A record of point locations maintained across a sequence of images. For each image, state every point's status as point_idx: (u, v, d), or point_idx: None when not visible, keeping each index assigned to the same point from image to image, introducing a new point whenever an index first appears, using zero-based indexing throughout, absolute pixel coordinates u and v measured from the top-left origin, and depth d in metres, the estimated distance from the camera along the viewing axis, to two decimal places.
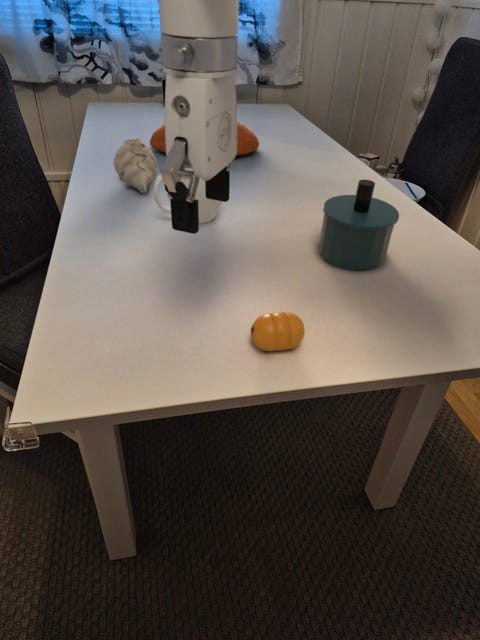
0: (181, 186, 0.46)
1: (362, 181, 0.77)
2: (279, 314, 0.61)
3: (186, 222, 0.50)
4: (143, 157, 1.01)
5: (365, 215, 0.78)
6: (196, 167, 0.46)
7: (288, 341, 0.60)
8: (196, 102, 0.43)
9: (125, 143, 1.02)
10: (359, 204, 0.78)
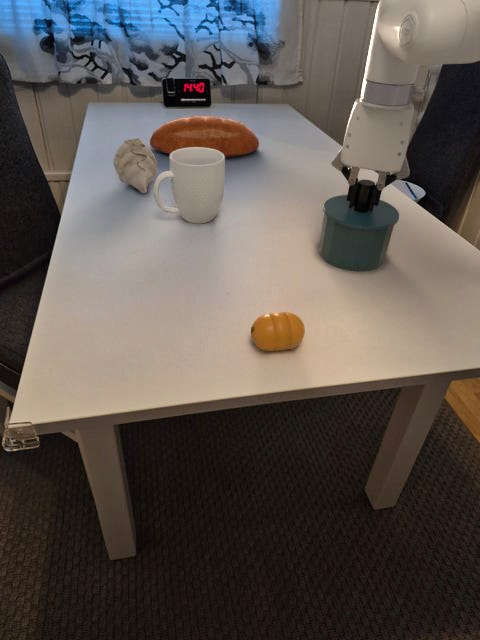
0: None
1: (362, 181, 0.77)
2: (279, 314, 0.61)
3: None
4: (143, 157, 1.01)
5: (365, 215, 0.78)
6: None
7: (288, 341, 0.60)
8: None
9: (125, 143, 1.02)
10: (359, 204, 0.78)
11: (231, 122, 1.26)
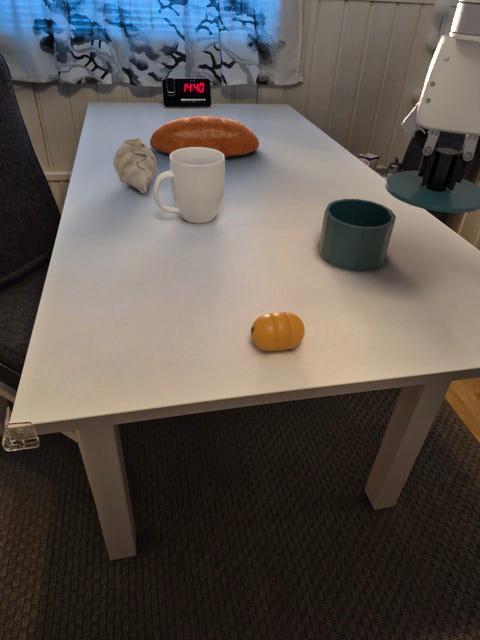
0: None
1: (441, 149, 0.58)
2: (279, 314, 0.61)
3: None
4: (143, 157, 1.01)
5: (444, 194, 0.59)
6: None
7: (288, 341, 0.60)
8: None
9: (125, 143, 1.02)
10: (436, 180, 0.59)
11: (231, 122, 1.26)
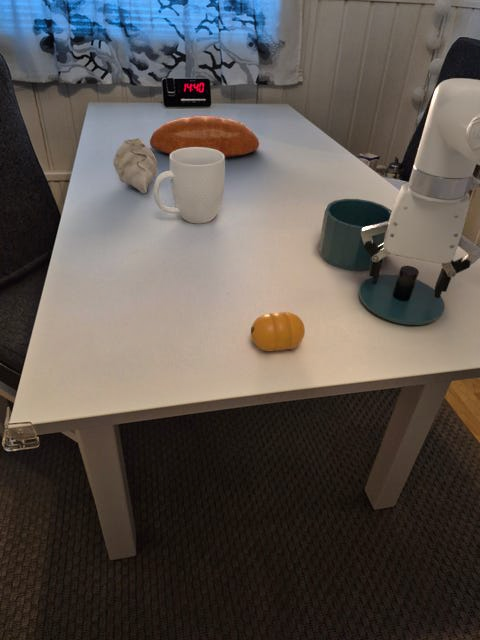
0: None
1: (404, 268, 0.70)
2: (279, 314, 0.61)
3: None
4: (143, 157, 1.01)
5: (407, 305, 0.71)
6: None
7: (288, 341, 0.60)
8: None
9: (125, 143, 1.02)
10: (401, 292, 0.71)
11: (231, 122, 1.26)
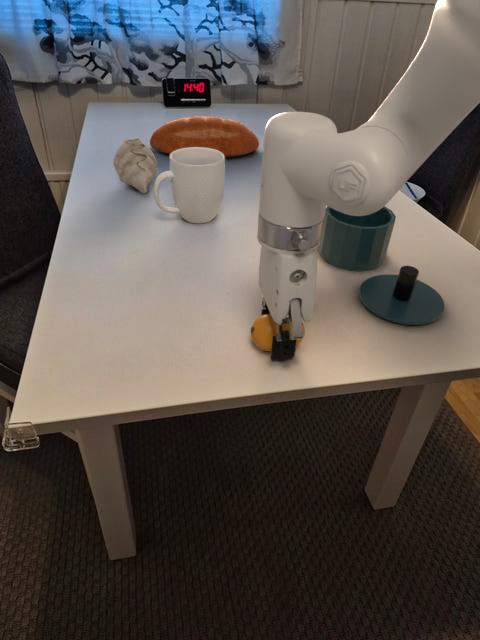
0: None
1: (404, 268, 0.70)
2: None
3: (289, 353, 0.60)
4: (143, 157, 1.01)
5: (407, 305, 0.71)
6: (306, 316, 0.55)
7: None
8: (312, 271, 0.51)
9: (125, 143, 1.02)
10: (401, 292, 0.71)
11: (231, 122, 1.26)
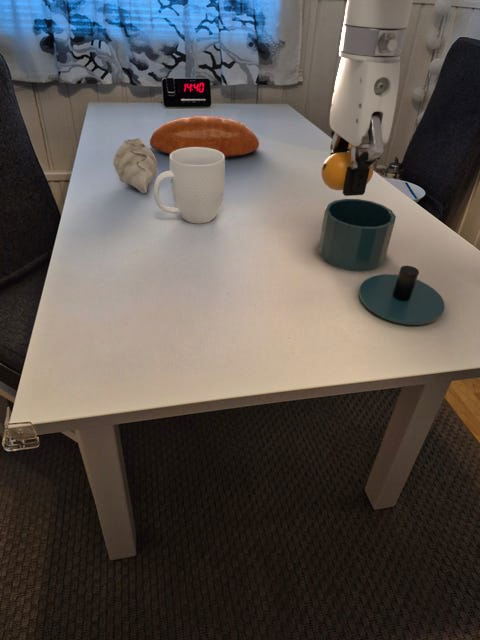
0: None
1: (404, 268, 0.70)
2: (350, 152, 0.64)
3: (362, 186, 0.62)
4: (143, 157, 1.01)
5: (407, 305, 0.71)
6: (384, 135, 0.57)
7: None
8: (395, 80, 0.54)
9: (125, 143, 1.02)
10: (401, 292, 0.71)
11: (231, 122, 1.26)
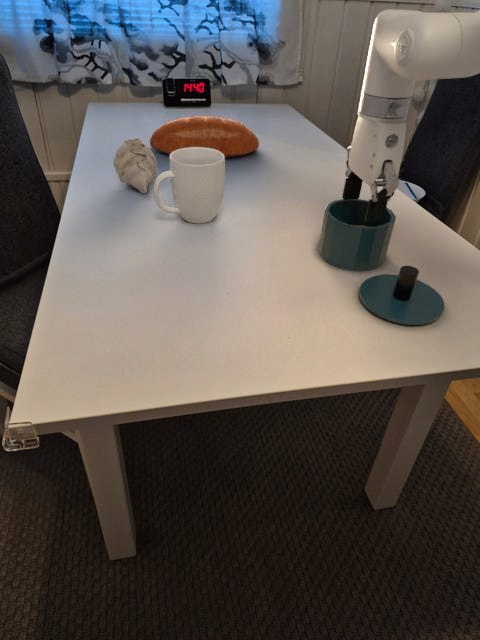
0: None
1: (404, 268, 0.70)
2: None
3: (381, 215, 0.74)
4: (143, 157, 1.01)
5: (407, 305, 0.71)
6: None
7: None
8: (402, 136, 0.68)
9: (125, 143, 1.02)
10: (401, 292, 0.71)
11: (231, 122, 1.26)
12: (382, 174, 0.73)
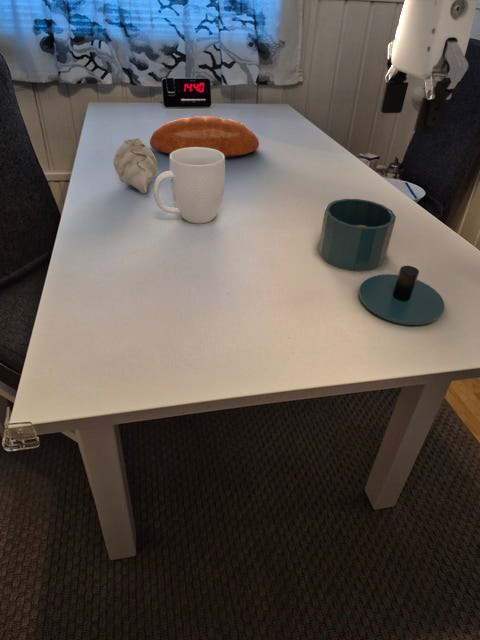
0: None
1: (404, 268, 0.70)
2: (355, 225, 0.83)
3: (437, 120, 0.57)
4: (143, 157, 1.01)
5: (407, 305, 0.71)
6: None
7: None
8: (473, 2, 0.50)
9: (125, 143, 1.02)
10: (401, 292, 0.71)
11: (231, 122, 1.26)
12: (440, 63, 0.55)
